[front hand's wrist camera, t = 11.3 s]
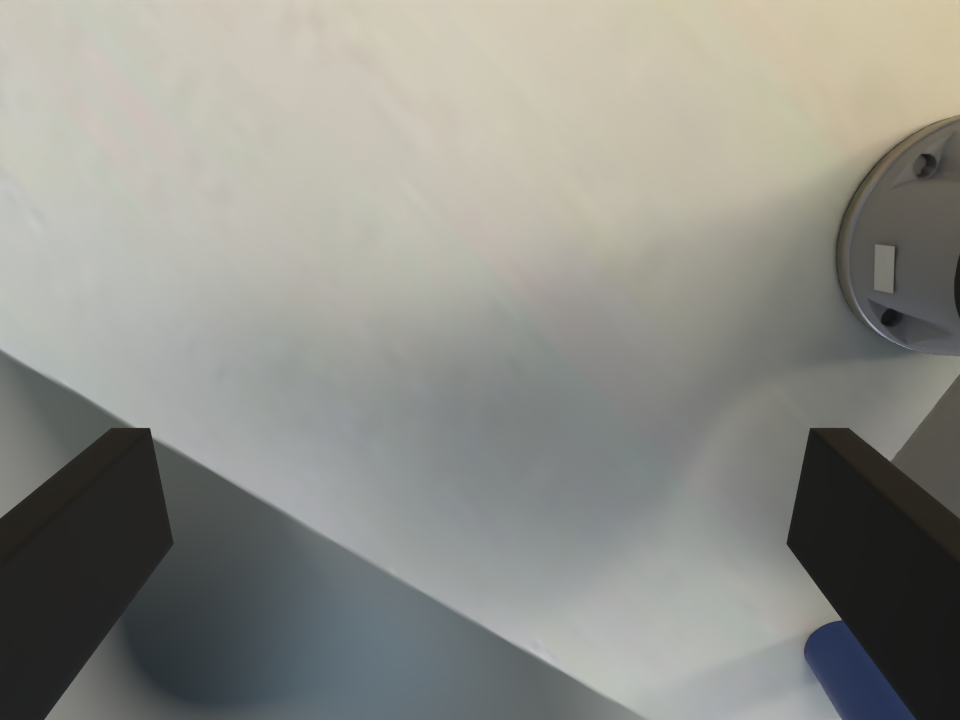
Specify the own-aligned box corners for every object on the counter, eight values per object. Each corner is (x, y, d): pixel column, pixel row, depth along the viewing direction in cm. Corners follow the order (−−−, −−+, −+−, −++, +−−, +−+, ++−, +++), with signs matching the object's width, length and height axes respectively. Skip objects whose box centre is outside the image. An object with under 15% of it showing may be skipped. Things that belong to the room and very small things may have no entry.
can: (802, 676, 54) (889, 827, 42) (806, 623, 52) (899, 767, 40) (870, 670, 54) (977, 822, 42) (877, 617, 52) (991, 761, 40)
